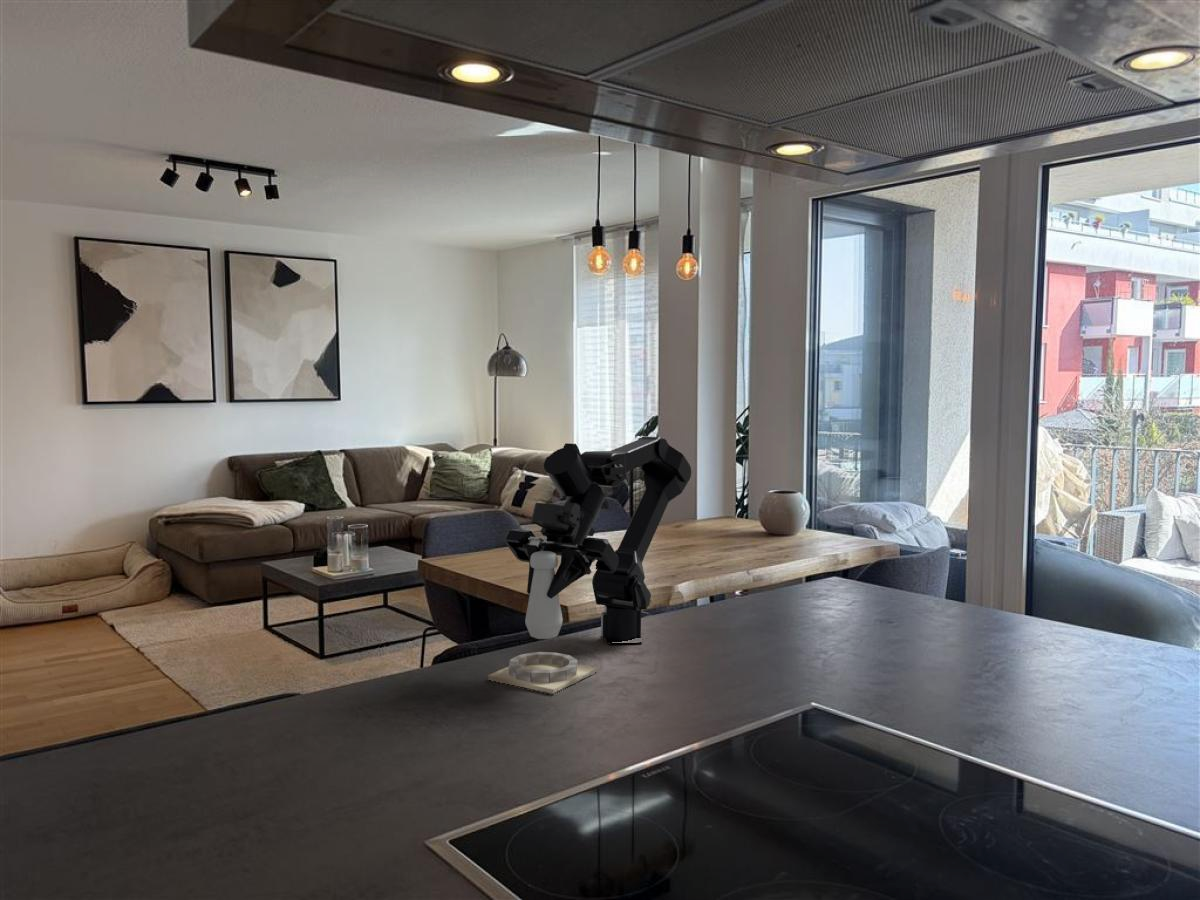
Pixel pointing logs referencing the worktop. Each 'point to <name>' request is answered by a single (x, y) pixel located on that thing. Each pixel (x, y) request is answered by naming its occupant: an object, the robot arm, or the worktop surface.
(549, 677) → the ring stand
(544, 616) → the salt shaker
